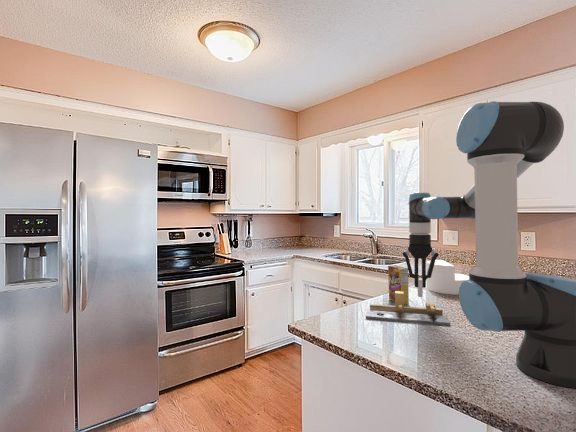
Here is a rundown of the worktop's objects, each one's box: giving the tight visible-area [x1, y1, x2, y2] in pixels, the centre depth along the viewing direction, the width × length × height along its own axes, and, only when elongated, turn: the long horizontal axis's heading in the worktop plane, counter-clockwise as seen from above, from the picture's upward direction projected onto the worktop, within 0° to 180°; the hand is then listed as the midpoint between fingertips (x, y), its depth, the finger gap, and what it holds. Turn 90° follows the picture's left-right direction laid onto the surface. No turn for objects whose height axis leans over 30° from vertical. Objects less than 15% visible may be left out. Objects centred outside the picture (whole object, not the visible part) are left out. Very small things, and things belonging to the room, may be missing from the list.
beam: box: [369, 302, 444, 317], centre depth 122 cm, size 9×26×4 cm, turn 73°
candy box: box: [387, 264, 410, 305], centre depth 141 cm, size 9×4×15 cm, turn 17°
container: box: [426, 259, 469, 295], centre depth 162 cm, size 20×20×13 cm
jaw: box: [394, 291, 405, 315], centre depth 123 cm, size 9×3×8 cm, turn 163°
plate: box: [365, 309, 451, 327], centre depth 119 cm, size 8×28×1 cm, turn 73°
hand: (420, 295), depth 124 cm, fingers closed
